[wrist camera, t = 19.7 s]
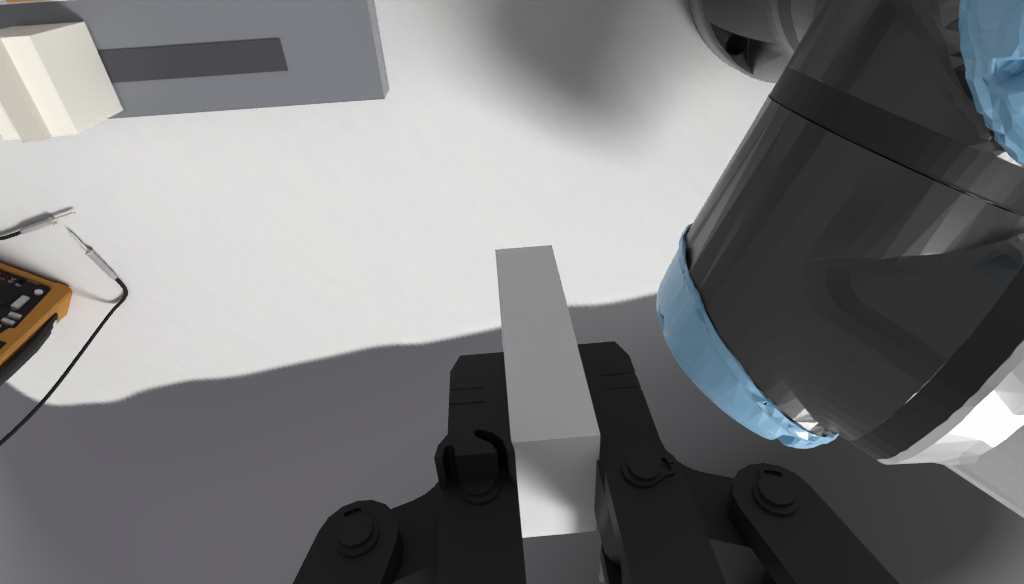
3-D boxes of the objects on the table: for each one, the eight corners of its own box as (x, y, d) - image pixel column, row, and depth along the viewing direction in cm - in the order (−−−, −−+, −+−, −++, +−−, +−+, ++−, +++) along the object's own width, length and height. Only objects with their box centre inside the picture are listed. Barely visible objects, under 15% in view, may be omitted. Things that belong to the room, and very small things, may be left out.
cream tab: (84, 21, 32) (20, 37, 27) (123, 110, 34) (71, 138, 30) (13, 26, 32) (-63, 43, 27) (57, 114, 34) (-4, 143, 30)
